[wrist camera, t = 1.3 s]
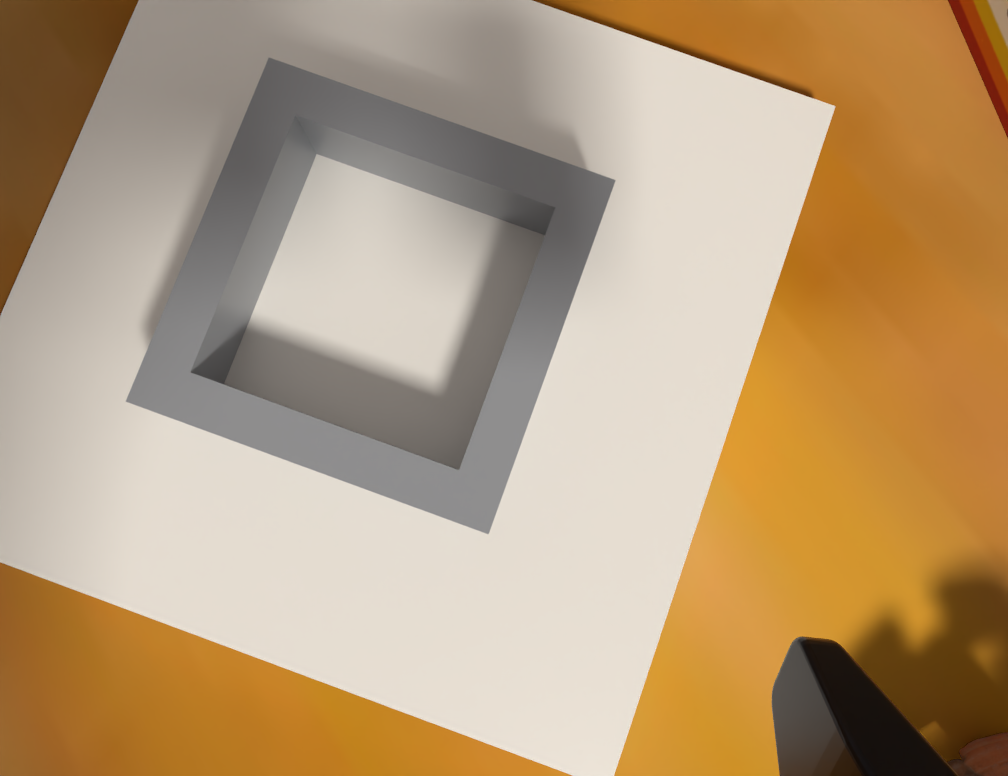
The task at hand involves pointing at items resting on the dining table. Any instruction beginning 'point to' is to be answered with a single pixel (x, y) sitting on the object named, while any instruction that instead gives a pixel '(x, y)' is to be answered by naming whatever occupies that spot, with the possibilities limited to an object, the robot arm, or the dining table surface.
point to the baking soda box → (987, 46)
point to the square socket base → (399, 346)
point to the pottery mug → (983, 757)
